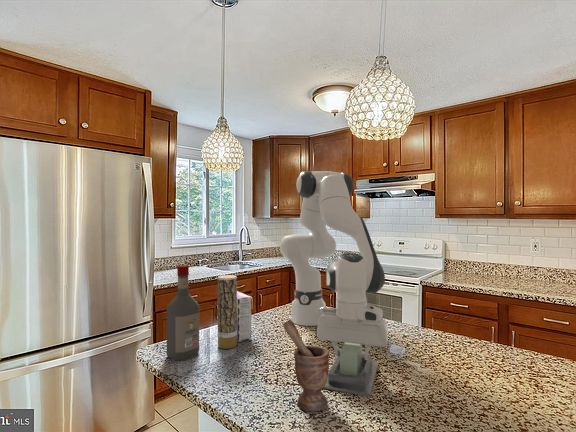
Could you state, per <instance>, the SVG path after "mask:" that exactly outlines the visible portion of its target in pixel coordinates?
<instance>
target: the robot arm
mask: <svg viewBox="0 0 576 432" xmlns="http://www.w3.org/2000/svg"><path fill="white" fill-rule="evenodd" d="M353 189H354V181H353V178H352V177H351V175H350V174H348V173H344V172H338V171H337V172H336V171H330V170H326V171H323V170H318V171H317V170H315V171H311V170H305V171H301V172H300V174H299V175H298V177H297V179H296V191H297V194H298V195H299V196H300V197H302V202H301V203H302V204H301V209H300V216H299V220H300V221H299V222H300V224H301V226H303V228H305V229H307V230H309V233H294V234H293V233H292V234H288V235H286V236H283V237H282V239H281V240H280V243H279V250H280V253H281V254H282V256H283V257H284V258H285V259H287V260H288V261H289V263H290V264H291V265H292V268H293V271H294V275H295V289H294V300H292V302H291V315H289V316H288V318H287V319H288V320H291V321H292V322H293V323H294V325H299V326H307V327H313V326H316V327H317V328H316V336H317V338H318V339H319V340H324V341H331V342H332V343H331V345H332V347H333V349H334V350H335V356H336V357H338V356H340V351H341V349H342V348H340V347H339V345H338V344H339V342H341V343H345V342H346V343H354V344H362V346H363V345H364V348H365V351H362V354H361V356H362V357H361V359H362V360H367V356H368V354H369V352H370V350H371V348H372V347H380V348H384V347H386V346H387V345H388V341H389V340H388V339H389V338H388V330H387V329H388V328H387V324H386V320H385V319H384V318H383V317H384V316H383V315H384V312H383V309H382V308H381V307H378V306H376V305H373V304H371V303H368V298H367V295H366V294H377V293H378V292H379V291H380V290H381V289H382V288H383V287H384V285H385V283H386V275H385V272H384V268H383V266H382V264H381V262H380V260H379V258H378V256H377V253H376V249H375V247H374V244H373V240H372V239H371V236H370V232H369V230H368V227H367V225H366V222H365V220H364V218H363V217H362V216H359V215H358V214H357V213H356V211H355V210H354V208H353V207H352V202H351V197H350V196H351V195H352V192H353ZM327 227H329V228H330V229H332V230H334V231H337V232H341V233H343V234H345V235H348V236H350V237H351V238H352V239H354V241H355V242H356V245H357V248H358V250H359V254H358V253H353V252H345V253H344V252H343V253H342V254H340V255H338V256H337V261H335V262H331V263H330V264H328V266H327V267H326V268H325V286H327V288H328V289H330V290H331V291H332V292H335V293H336V297H335V304H336V305H335V306H336V307H326V304H327V303H326V302H325V300H324V299H323V288H322V286H321V285H322V281H321V280H322V279H321V278H322V277H321V276H322V275H321V272H320V270H319V269H318V268H316V267H315V266H312V265H311V264H310V261H309V259H324V258H328V257H332V256H333V255H334V254H335V252H336V249H337V242H336V239H335V238H334V236H332V235H331V234H330V233H329V231H328V230H327Z"/></svg>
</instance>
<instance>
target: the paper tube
mask: <svg viewBox="0 0 576 432" xmlns="http://www.w3.org/2000/svg"><path fill="white" fill-rule="evenodd" d="M237 291H238V277H237V275H234V274H229V275H228V274H225V275H224V274H223V275H219V276H217V346H218V348H219V349H223V350H230V349H233V348H235V347H236V346H237V345H238V341H237Z"/></svg>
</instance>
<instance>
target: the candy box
mask: <svg viewBox="0 0 576 432" xmlns="http://www.w3.org/2000/svg"><path fill="white" fill-rule="evenodd" d="M250 340H252V296H251V295H247V294H245V293H243V292H240V291H238V290H237V343H240V342H245V341H246V342H247V341H250Z"/></svg>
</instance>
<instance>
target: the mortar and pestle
mask: <svg viewBox="0 0 576 432" xmlns="http://www.w3.org/2000/svg"><path fill="white" fill-rule="evenodd" d="M282 326H283V328H284V330H285V332H286V334H287V336H288V337H289V338H290V339H291V341H292V342H293V343H294V346H295V347H296V348H295V349H294V352H293V354H294V355H293V357H294V371H295V372H294V373H295V377H296V380H297V384H298V385H299V386H300V387H301V388H302V390H303V391H301V393H300V394H299V396H298V398H297V406H298V407H299V408H300V409H302V410H304V411H306V412H318V411H319V412H320V411H325V410H326V409H327V407H328V401H327V397H326V395H325V394H324V392H322V390H323V387H324V385H325V384H326V382H327V378H328V372H329V370H330V366H329V365H330V363H329V361H330V360H329V359H330V358H329V357H330V353H329V350H328V349H327V348H326V347H324V346H321V345H315V344H314V345H305V342H304V341H303V339H302V337H301V335H300V332H299V331H298V328H297V327H296V324H295V323H293V322H292V321H291V320H289V319H288V320H287V321H285V322H283V324H282Z"/></svg>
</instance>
